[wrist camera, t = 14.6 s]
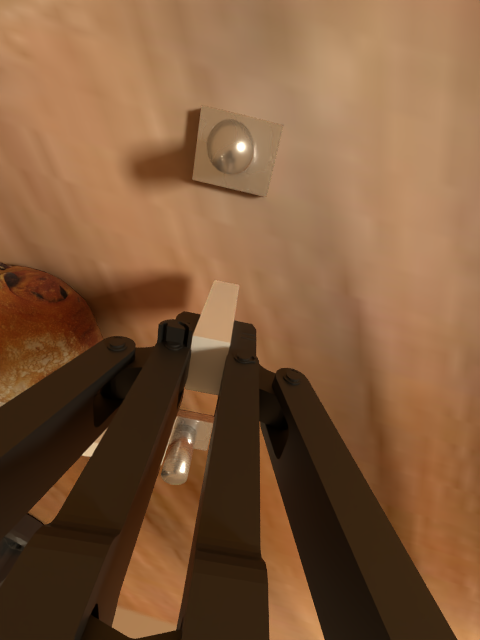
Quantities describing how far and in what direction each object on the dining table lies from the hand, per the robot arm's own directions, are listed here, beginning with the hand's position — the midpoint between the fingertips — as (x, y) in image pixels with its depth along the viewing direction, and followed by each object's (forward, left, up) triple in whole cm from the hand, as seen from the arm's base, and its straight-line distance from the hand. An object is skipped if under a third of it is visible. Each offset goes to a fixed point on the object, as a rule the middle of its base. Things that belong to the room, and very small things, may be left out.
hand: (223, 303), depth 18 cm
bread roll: (-14, -6, -4) cm, 15 cm away
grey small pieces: (-1, -3, -3) cm, 5 cm away
